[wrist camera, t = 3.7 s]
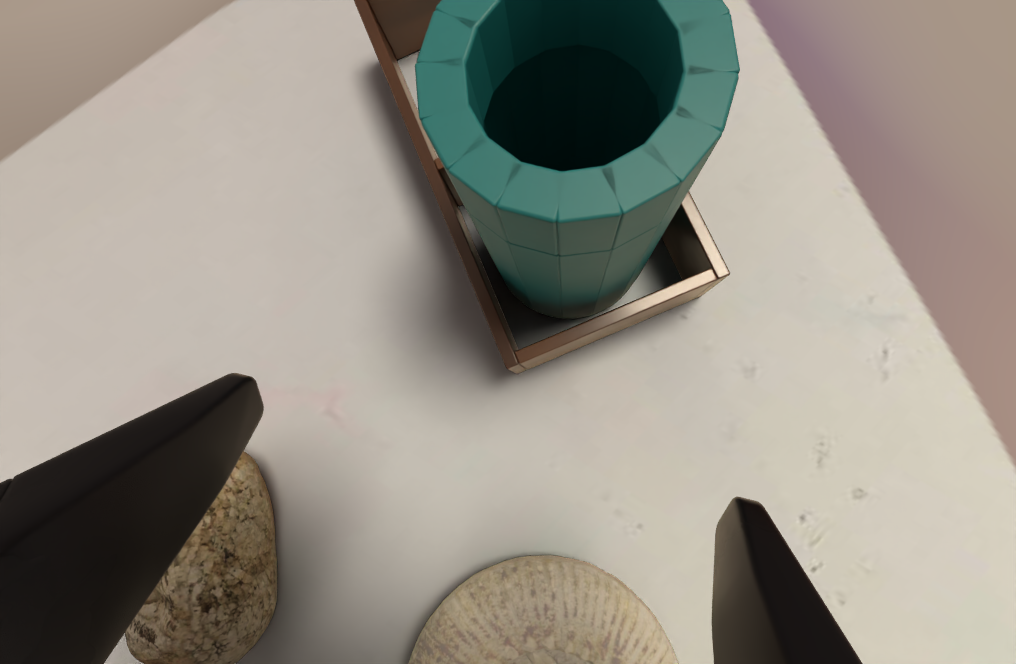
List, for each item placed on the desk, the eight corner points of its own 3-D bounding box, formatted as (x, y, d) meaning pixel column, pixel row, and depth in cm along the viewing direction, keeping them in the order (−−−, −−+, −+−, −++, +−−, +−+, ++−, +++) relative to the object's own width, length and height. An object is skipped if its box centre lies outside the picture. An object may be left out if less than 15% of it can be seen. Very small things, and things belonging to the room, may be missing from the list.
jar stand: (547, -20, 25) (544, -97, 21) (702, 295, 23) (731, 273, 19) (384, 56, 26) (351, -6, 22) (517, 374, 23) (506, 369, 19)
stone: (285, 426, 24) (212, 433, 19) (300, 639, 23) (226, 706, 18) (160, 443, 25) (58, 454, 20) (167, 652, 23) (60, 720, 18)
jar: (673, 234, 23) (807, 30, 10) (580, 349, 23) (597, 286, 10) (557, 150, 24) (548, -130, 11) (467, 259, 24) (354, 100, 11)
